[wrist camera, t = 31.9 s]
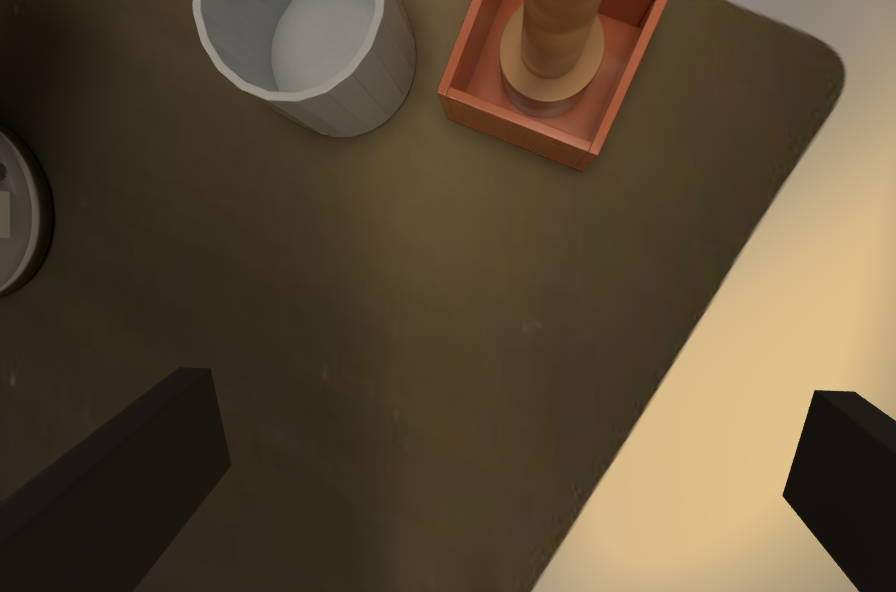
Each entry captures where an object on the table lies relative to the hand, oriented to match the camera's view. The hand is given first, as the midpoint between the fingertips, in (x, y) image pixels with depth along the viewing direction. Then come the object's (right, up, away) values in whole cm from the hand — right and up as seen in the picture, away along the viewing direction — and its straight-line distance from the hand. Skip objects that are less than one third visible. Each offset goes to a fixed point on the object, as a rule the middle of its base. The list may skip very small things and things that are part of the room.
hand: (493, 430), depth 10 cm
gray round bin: (-9, +20, +23) cm, 32 cm away
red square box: (+6, +18, +21) cm, 28 cm away
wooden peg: (+6, +18, +20) cm, 28 cm away
